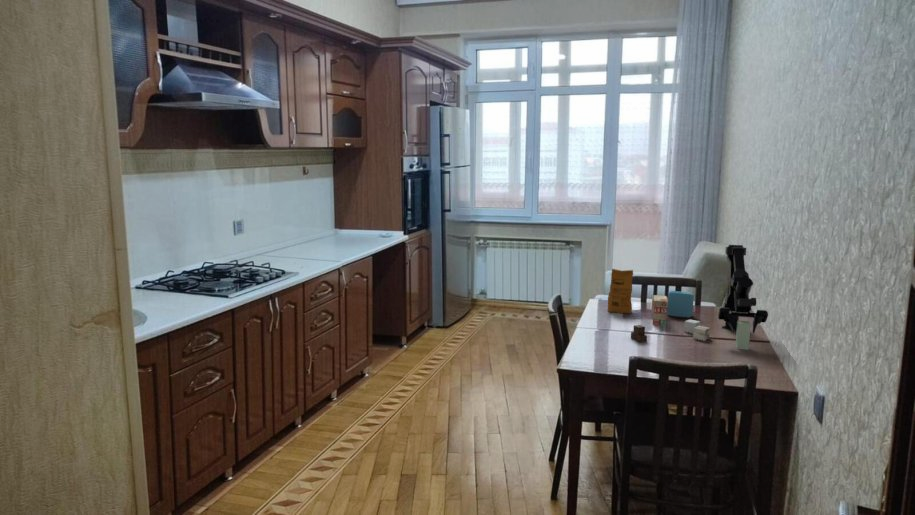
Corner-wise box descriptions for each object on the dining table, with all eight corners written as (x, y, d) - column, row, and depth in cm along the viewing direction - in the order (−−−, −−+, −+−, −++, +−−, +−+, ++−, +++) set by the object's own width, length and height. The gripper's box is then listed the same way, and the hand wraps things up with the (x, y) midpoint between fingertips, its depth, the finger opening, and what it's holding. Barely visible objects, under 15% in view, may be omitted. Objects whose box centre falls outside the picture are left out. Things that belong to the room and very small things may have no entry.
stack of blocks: (651, 315, 325) (652, 291, 323) (664, 315, 324) (665, 291, 322) (652, 325, 305) (654, 300, 303) (666, 326, 303) (668, 300, 301)
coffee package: (608, 308, 339) (610, 267, 336) (633, 310, 334) (635, 268, 331) (605, 312, 330) (607, 270, 326) (630, 314, 325) (632, 271, 322)
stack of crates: (666, 344, 275) (667, 329, 274) (635, 347, 271) (636, 331, 270) (646, 335, 290) (647, 320, 288) (616, 337, 285) (617, 322, 284)
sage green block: (735, 345, 272) (737, 320, 270) (746, 346, 271) (748, 321, 269) (736, 348, 268) (738, 323, 266) (748, 349, 267) (750, 324, 265)
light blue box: (692, 316, 324) (694, 292, 322) (691, 318, 319) (693, 294, 318) (667, 313, 328) (669, 290, 326) (666, 315, 324) (668, 292, 322)
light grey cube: (689, 329, 297) (689, 319, 297) (699, 332, 294) (700, 321, 293) (684, 331, 294) (684, 321, 293) (694, 334, 290) (695, 323, 290)
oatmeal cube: (698, 336, 286) (698, 325, 285) (709, 338, 283) (710, 327, 282) (693, 338, 283) (693, 327, 282) (704, 341, 279) (705, 329, 278)
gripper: (721, 288, 272) (722, 320, 263) (769, 291, 267) (772, 324, 258) (717, 303, 281) (718, 334, 272) (764, 306, 276) (766, 337, 267)
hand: (743, 332), depth 267 cm, fingers open, 7 cm apart
